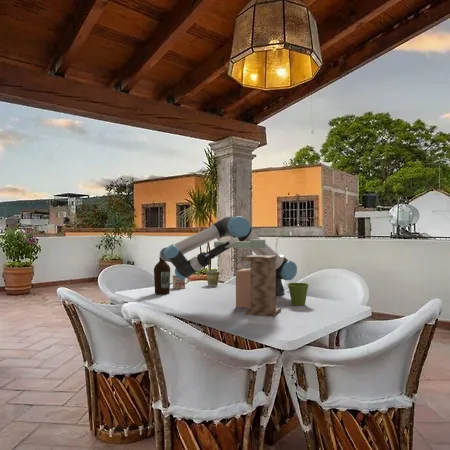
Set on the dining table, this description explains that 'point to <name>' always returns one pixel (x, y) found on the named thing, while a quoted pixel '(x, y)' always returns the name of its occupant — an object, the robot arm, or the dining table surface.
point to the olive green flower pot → (213, 277)
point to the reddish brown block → (243, 288)
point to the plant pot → (298, 293)
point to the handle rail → (244, 244)
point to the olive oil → (162, 277)
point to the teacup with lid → (178, 282)
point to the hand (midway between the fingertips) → (236, 239)
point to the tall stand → (262, 285)
